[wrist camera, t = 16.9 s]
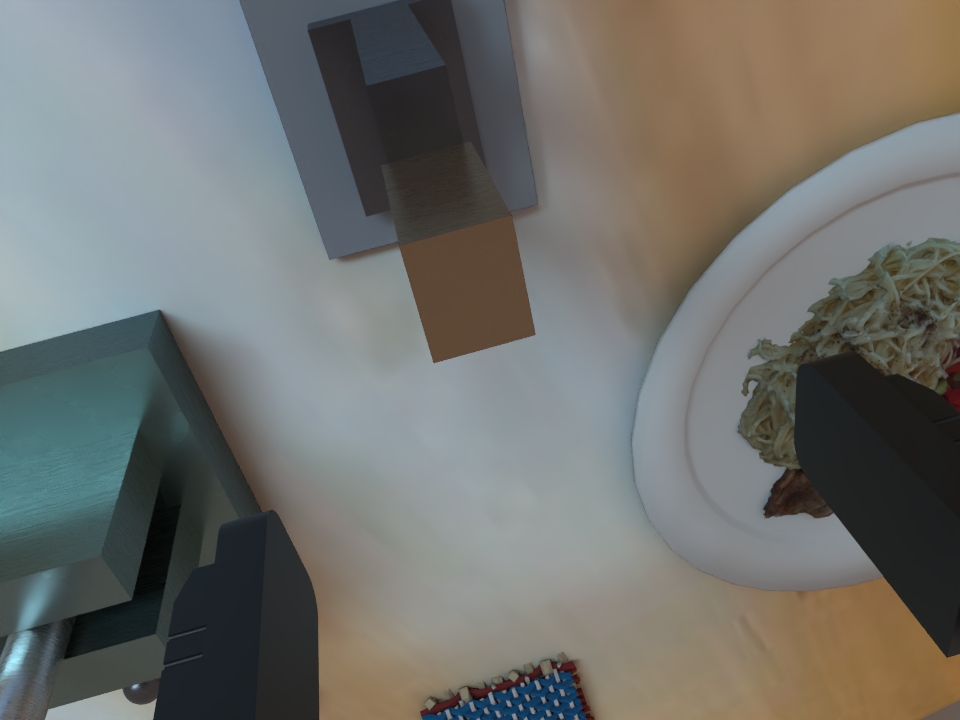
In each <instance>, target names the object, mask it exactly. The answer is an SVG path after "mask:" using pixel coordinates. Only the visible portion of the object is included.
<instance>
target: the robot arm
mask: <svg viewBox="0 0 960 720" xmlns="http://www.w3.org/2000/svg"><path fill="white" fill-rule="evenodd" d="M794 446H795V451H796V455H797V458H798V461H799V464H800V466H801V468H802V470H803V472H804V474H805V476H806V477H807V479H808V480H809V482H810V483H811V484H812V486H813V487H814V488H815V489H816V491H817V492H818V493H819V494H820V496H821V497H822V498H823V500H824V501H825V502H826V503H827V505H828V506H829V507H830V509H831V510H832V511H833V512H834V514H835V515H836V516H837V518H838V519H839V520H840V521H841V523H842V524H843V525H844V527H845V528H846V529H847V530H848V532H849V533H850V534H851V536H852V537H853V538H854V539H855V541H856V542H857V543H858V544H859V546H860V547H861V548H862V550H863V551H864V552H865V553H866V555H867V556H868V557H869V559H870V560H871V561H872V562H873V564H874V565H875V566H876V568H877V569H878V570H879V571H880V573H881V574H882V575H883V577H884V578H885V579H886V580H887V582H888V583H889V584H890V585H891V587H892V588H893V589H894V591H895V592H896V593H897V594H898V596H899V597H900V598H901V600H902V601H903V602H904V603H905V605H906V606H907V607H908V609H909V610H910V611H911V612H912V614H913V615H914V616H915V618H916V619H917V620H918V621H919V623H920V624H921V625H922V627H923V628H924V629H925V630H926V632H927V633H928V634H929V635H930V637H931V638H932V639H933V641H934V642H935V643H936V644H937V646H938V647H939V648H940V650H941V651H942V652H943V653H944V655H945V656H946V657H951V656H954V655H958V654H960V413H959V412H958V411H957V410H956V409H955V408H954V407H952V406H951V405H950V404H949V403H948V402H947V401H946V400H945V399H943V398H942V397H941V396H940V395H939V394H938V393H937V392H935V391H934V390H932V389H930V388H928V387H926V386H924V385H921V384H919V383H917V382H915V381H913V380H910V379H908V378H906V377H904V376H902V375H900V374H894V375H891V376H887V377H884V376H883V375H881V374H880V373H879V372H878V371H877V370H876V369H875V368H874V367H873V366H872V365H871V364H870V363H869V362H868V361H867V360H865V359H864V358H863V357H862V356H861V355H860V354H858V353H857V352H854V351H847V352H843V353H839V354H836V355H832V356H829V357H825V358H821V359H818V360H814V361H811V362H807V363H804V364H801V365H800V366H799V368H798V371H797V377H796V400H795V424H794ZM168 637H169V642H167V644H166V650H165V656H164V661H163V664H164V670H162V673H161V678H160V684H159V690H158V695H157V701H156V707H155V712H154V718H153V720H319V659H318V611H317V604H316V598H315V594H314V590H313V586H312V583H311V580H310V578H309V575H308V573H307V571H306V569H305V567H304V565H303V563H302V561H301V559H300V557H299V555H298V553H297V551H296V549H295V547H294V545H293V543H292V541H291V539H290V537H289V535H288V533H287V531H286V529H285V527H284V525H283V523H282V521H281V519H280V518H279V516H278V514H277V513H276V512H275V511H273V510H270V511H266V512H263V513H259V514H255V515H252V516H248V517H245V518H241V519H237V520H234V521H230V522H227V523H223V524H222V525H221V526H220V529H219V533H218V540H217V547H216V555H215V563H213V564H210V565H206V566H203V567H199V568H196V569H193V570H192V572H191V574H190V576H189V577H188V579H187V581H186V582H185V584H184V586H183V588H182V589H181V591H180V593H179V594H178V596H177V598H176V599H175V601H174V605H173V610H172V616H171V622H170V627H169V633H168Z"/></svg>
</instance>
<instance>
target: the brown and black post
mask: <svg viewBox="0 0 960 720" xmlns="http://www.w3.org/2000/svg"><path fill="white" fill-rule="evenodd" d="M308 33H309V37H310V40H311V43H312V46H313V49H314V52H315V56H316V59H317V62H318V65H319V68H320V72H321V75H322V78H323V81H324V84H325V88H326V91H327V94H328V97H329V100H330V103H331V107H332V110H333V113H334V116H335V119H336V123H337V126H338V129H339V132H340V135H341V138H342V142H343V145H344V148H345V151H346V154H347V158H348V161H349V164H350V167H351V170H352V173H353V177H354V180H355V183H356V186H357V189H358V193H359V196H360V199H361V202H362V205H363V209H364V212H365V215H366V217H367V216H371V215H375V214H378V213H382V212H386V211H390V210H391V212H392V216H393V221H394V225H395V230H396V234H397V239H398V243H399V247H400V250H401V254H402V257H403V261H404V264H405V267H406V271H407V274H408V278H409V281H410V284H411V288H412V291H413V295H414V298H415V301H416V305H417V308H418V312H419V315H420V318H421V322H422V325H423V329H424V332H425V335H426V339H427V342H428V346H429V349H430V352H431V356H432V359H433V362H434V363H436V362H440V361H443V360H447V359H451V358H454V357H458V356H461V355H465V354H469V353H472V352H476V351H479V350H483V349H487V348H490V347H494V346H497V345H501V344H505V343H508V342H512V341H515V340H519V339H523V338H526V337H530V336H533V335H535V329H534V324H533V319H532V314H531V309H530V304H529V299H528V294H527V289H526V284H525V279H524V274H523V269H522V264H521V259H520V254H519V249H518V244H517V239H516V234H515V229H514V223H513V218H512V215H511V213H510V211H509V209H508V208H507V206H506V204H505V202H504V200H503V199H502V197H501V195H500V193H499V191H498V189H497V188H496V186H495V184H494V182H493V180H492V179H491V177H490V175H489V173H488V171H487V168H486V164H485V159H484V154H483V149H482V145H481V140H480V135H479V130H478V126H477V121H476V116H475V111H474V107H473V102H472V97H471V92H470V88H469V83H468V78H467V73H466V69H465V64H464V59H463V54H462V50H461V45H460V40H459V35H458V31H457V26H456V21H455V16H454V11H453V7H452V2H451V0H397V1H393V2H390V3H386V4H382V5H378V6H374V7H370V8H367V9H363V10H359V11H355V12H351V13H347V14H343V15H340V16H336V17H332V18H328V19H324V20H320V21H317V22H313V23H309V24H308Z"/></svg>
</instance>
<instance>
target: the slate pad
mask: <svg viewBox="0 0 960 720" xmlns="http://www.w3.org/2000/svg"><path fill="white" fill-rule="evenodd" d="M239 1H240V4H241V7H242V9H243V12H244V15H245V18H246V21H247V24H248V27H249V30H250V32H251V35H252V38H253V41H254V44H255V47H256V50H257V53H258V56H259V58H260V61H261V64H262V67H263V70H264V73H265V76H266V79H267V81H268V84H269V87H270V90H271V93H272V96H273V99H274V102H275V105H276V107H277V110H278V113H279V116H280V119H281V122H282V125H283V128H284V130H285V133H286V136H287V139H288V142H289V145H290V148H291V151H292V154H293V156H294V159H295V162H296V165H297V168H298V171H299V174H300V177H301V179H302V182H303V185H304V188H305V191H306V194H307V197H308V200H309V203H310V205H311V208H312V211H313V214H314V217H315V220H316V223H317V226H318V228H319V231H320V234H321V237H322V240H323V243H324V246H325V249H326V252H327V254H328V257H329V260H331V259H334V258H338V257H342V256H346V255H349V254H353V253H357V252H361V251H365V250H368V249H372V248H376V247H380V246H383V245H387V244H391V243H395V242H398V239H397V234H396V230H395V225H394V221H393V216H392V212H391V210H390V211H386V212H382V213H378V214H375V215H371V216H367V217H366V215H365V212H364V209H363V205H362V202H361V199H360V196H359V193H358V189H357V186H356V183H355V180H354V177H353V173H352V170H351V167H350V164H349V161H348V158H347V154H346V151H345V148H344V145H343V142H342V138H341V135H340V132H339V129H338V126H337V123H336V119H335V116H334V113H333V110H332V107H331V103H330V100H329V97H328V94H327V91H326V88H325V84H324V81H323V78H322V75H321V72H320V68H319V65H318V62H317V59H316V56H315V52H314V49H313V46H312V43H311V40H310V37H309V33H308V24H309V23H313V22H317V21H320V20H324V19H328V18H332V17H336V16H340V15H343V14H347V13H351V12H355V11H359V10H363V9H367V8H370V7H374V6H378V5H382V4H386V3H390V2H393V1H397V0H239ZM451 2H452V7H453V11H454V16H455V21H456V26H457V31H458V35H459V40H460V45H461V50H462V54H463V59H464V64H465V69H466V73H467V78H468V83H469V88H470V92H471V97H472V102H473V107H474V111H475V116H476V121H477V126H478V130H479V135H480V140H481V145H482V149H483V154H484V159H485V164H486V168H487V171H488V173H489V175H490V177H491V179H492V180H493V182H494V184H495V186H496V188H497V189H498V191H499V193H500V195H501V197H502V199H503V200H504V202H505V204H506V206H507V208H508V209H509V211H510V212H512V211H516V210H519V209H523V208H527V207H531V206H535V205H538V201H537V196H536V190H535V184H534V178H533V172H532V166H531V160H530V154H529V148H528V142H527V136H526V130H525V124H524V118H523V112H522V106H521V100H520V95H519V89H518V83H517V77H516V71H515V65H514V59H513V53H512V47H511V41H510V35H509V29H508V23H507V17H506V11H505V5H504V0H451Z"/></svg>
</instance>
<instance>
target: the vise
mask: <svg viewBox="0 0 960 720" xmlns="http://www.w3.org/2000/svg"><path fill="white" fill-rule="evenodd" d="M259 513H262V511H261V509H260V507H259V505H258V503H257V501H256V499H255V497H254V495H253V493H252V491H251V489H250V487H249V485H248V483H247V481H246V479H245V478H244V476H243V474H242V472H241V470H240V468H239V466H238V464H237V462H236V460H235V458H234V456H233V454H232V452H231V450H230V448H229V446H228V444H227V442H226V440H225V438H224V436H223V434H222V432H221V430H220V428H219V426H218V424H217V422H216V420H215V418H214V416H213V414H212V412H211V410H210V408H209V407H208V405H207V403H206V401H205V399H204V397H203V395H202V393H201V391H200V389H199V387H198V385H197V383H196V381H195V379H194V377H193V375H192V373H191V371H190V369H189V367H188V365H187V363H186V361H185V359H184V357H183V355H182V353H181V351H180V349H179V347H178V345H177V343H176V341H175V339H174V337H173V336H172V334H171V332H170V330H169V328H168V326H167V324H166V322H165V320H164V318H163V316H162V314H161V312H160V310H157V311H154V312H150V313H146V314H142V315H138V316H135V317H131V318H127V319H123V320H120V321H116V322H112V323H108V324H104V325H101V326H97V327H93V328H89V329H86V330H82V331H78V332H74V333H71V334H67V335H63V336H59V337H55V338H52V339H48V340H44V341H40V342H37V343H33V344H29V345H25V346H21V347H18V348H14V349H10V350H6V351H3V352H0V720H45V718H46V714H47V711H48V709H51V708H55V707H58V706H62V705H65V704H69V703H72V702H76V701H79V700H83V699H87V698H90V697H94V696H97V695H101V694H104V693H108V692H111V691H115V690H118V689H123V693H124V695H125V697H126V698H127V699H128V700H129V701H130V702H132V703H134V704H139V705H142V704H148V703H150V702H152V701H154V700H155V699H156V698H157V695H158V690H159V684H160V678H161V673H162V670H164V664H163V661H164V656H165V650H166V644H167V642H169V637H168V633H169V627H170V622H171V616H172V610H173V605H174V601H175V599H176V598H177V596H178V594H179V593H180V591H181V589H182V588H183V586H184V584H185V582H186V581H187V579H188V577H189V576H190V574H191V572H192V570H193V569H196V568H199V567H203V566H206V565H210V564H213V563H215V555H216V547H217V540H218V533H219V529H220V526H221V525H222V524H223V523H227V522H230V521H234V520H237V519H241V518H245V517H248V516H252V515H255V514H259Z"/></svg>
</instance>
